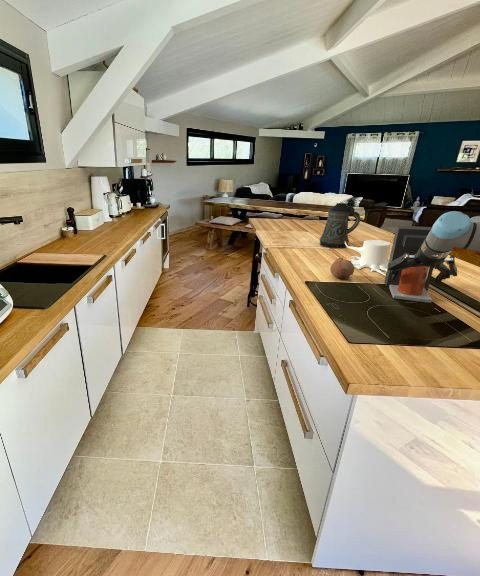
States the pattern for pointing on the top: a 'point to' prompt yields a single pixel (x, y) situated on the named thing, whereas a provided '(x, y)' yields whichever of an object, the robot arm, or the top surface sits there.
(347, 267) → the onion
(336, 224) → the beer stein
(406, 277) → the terracotta cup
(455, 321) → the top surface
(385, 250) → the tree stump
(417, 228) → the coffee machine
